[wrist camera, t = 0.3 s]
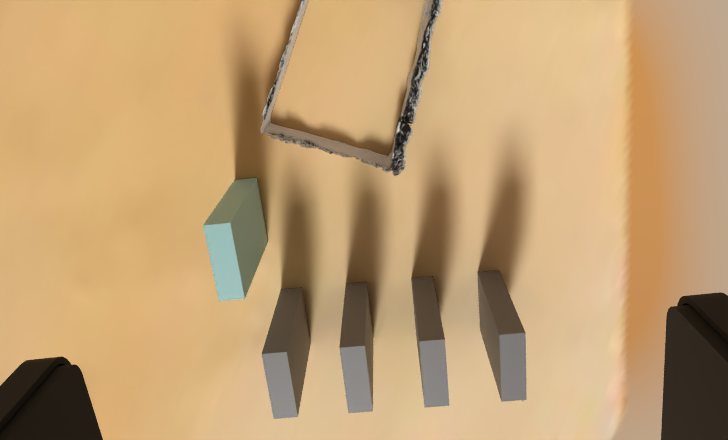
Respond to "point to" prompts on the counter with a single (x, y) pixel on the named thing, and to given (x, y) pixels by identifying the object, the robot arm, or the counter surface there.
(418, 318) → the domino
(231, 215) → the teal domino
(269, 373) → the domino
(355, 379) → the domino
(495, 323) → the domino
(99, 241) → the counter surface
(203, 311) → the counter surface
